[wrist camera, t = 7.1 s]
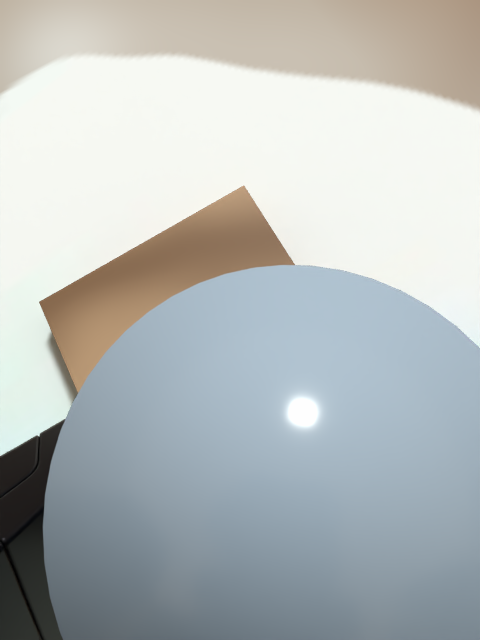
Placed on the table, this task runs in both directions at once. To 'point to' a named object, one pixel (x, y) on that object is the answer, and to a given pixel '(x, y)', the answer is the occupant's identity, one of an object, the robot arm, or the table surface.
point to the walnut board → (157, 277)
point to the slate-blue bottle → (272, 469)
